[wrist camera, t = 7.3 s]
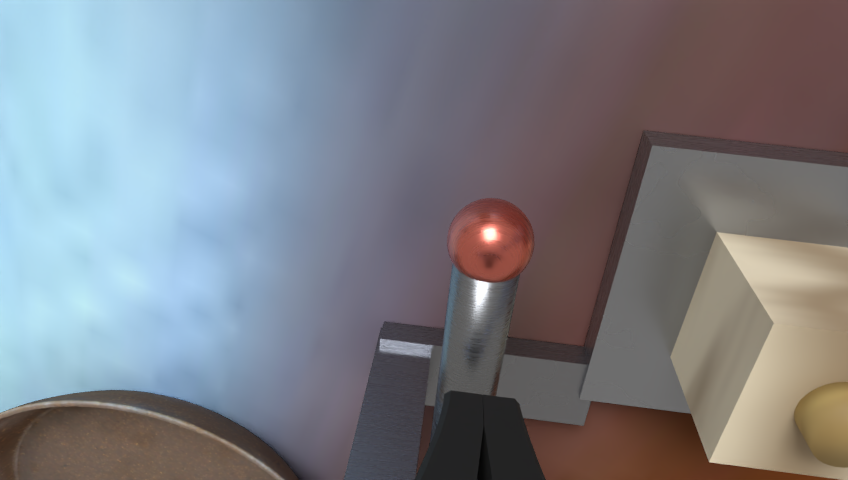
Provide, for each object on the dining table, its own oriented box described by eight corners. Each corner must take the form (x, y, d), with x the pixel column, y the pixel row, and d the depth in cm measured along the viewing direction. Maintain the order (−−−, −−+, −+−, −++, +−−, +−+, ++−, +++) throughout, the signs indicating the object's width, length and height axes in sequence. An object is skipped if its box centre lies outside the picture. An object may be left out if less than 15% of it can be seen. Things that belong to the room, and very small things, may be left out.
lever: (537, 181, 15) (546, 240, 13) (477, 489, 21) (476, 569, 19) (455, 172, 15) (447, 228, 13) (418, 481, 21) (409, 560, 19)
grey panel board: (1017, 171, 19) (1270, 316, 12) (850, 441, 24) (967, 627, 18) (394, 103, 19) (350, 207, 13) (378, 380, 25) (341, 540, 19)
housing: (884, 251, 19) (1014, 378, 14) (817, 375, 21) (909, 517, 17) (716, 232, 19) (790, 350, 14) (670, 356, 22) (720, 491, 17)
